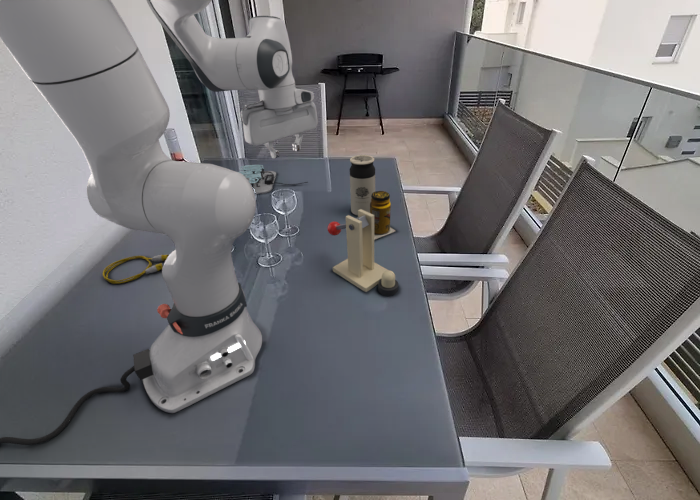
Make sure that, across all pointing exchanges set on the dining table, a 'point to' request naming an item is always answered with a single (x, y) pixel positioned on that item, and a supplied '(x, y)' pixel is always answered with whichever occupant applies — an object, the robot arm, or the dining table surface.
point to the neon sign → (260, 178)
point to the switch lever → (344, 225)
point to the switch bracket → (360, 254)
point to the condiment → (381, 213)
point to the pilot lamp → (388, 284)
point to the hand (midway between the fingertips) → (286, 153)
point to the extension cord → (147, 270)
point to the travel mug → (361, 182)
